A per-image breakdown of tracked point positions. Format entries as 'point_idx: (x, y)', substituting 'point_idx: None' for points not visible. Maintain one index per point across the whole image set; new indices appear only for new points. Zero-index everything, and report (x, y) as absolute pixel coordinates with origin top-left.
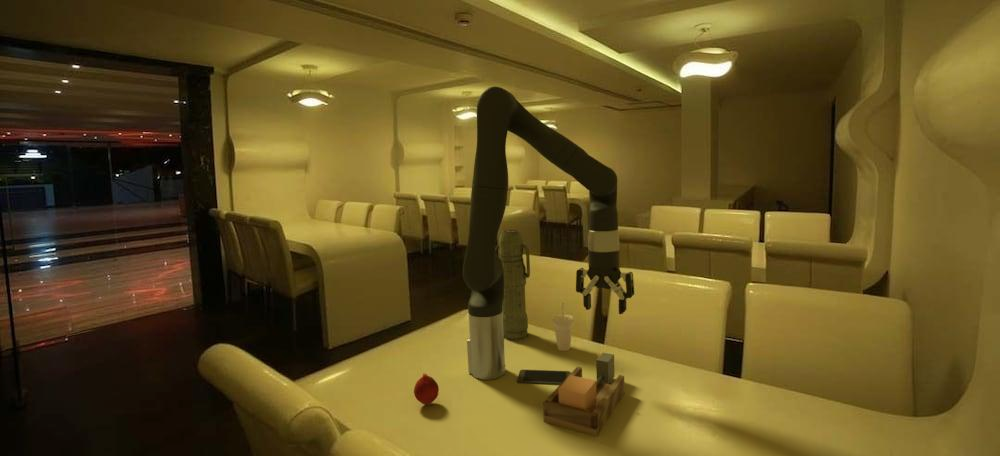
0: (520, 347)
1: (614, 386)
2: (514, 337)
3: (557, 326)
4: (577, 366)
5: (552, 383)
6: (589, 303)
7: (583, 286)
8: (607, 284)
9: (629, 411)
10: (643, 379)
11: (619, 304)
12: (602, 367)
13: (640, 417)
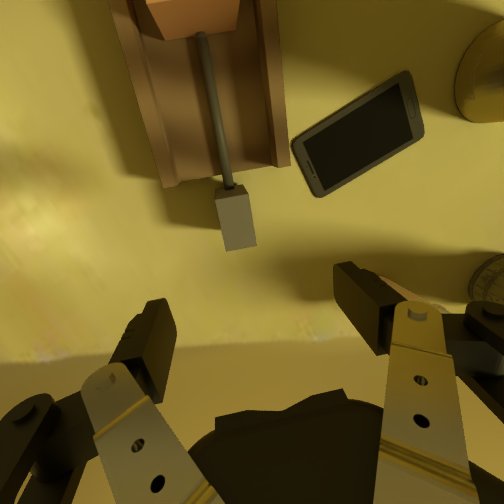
0: (464, 238)
1: (146, 110)
2: (494, 263)
3: (424, 301)
4: (290, 165)
5: (328, 118)
6: (348, 297)
7: (472, 386)
8: (233, 470)
9: (115, 108)
10: (174, 261)
11: (145, 333)
12: (230, 193)
13: (79, 96)
